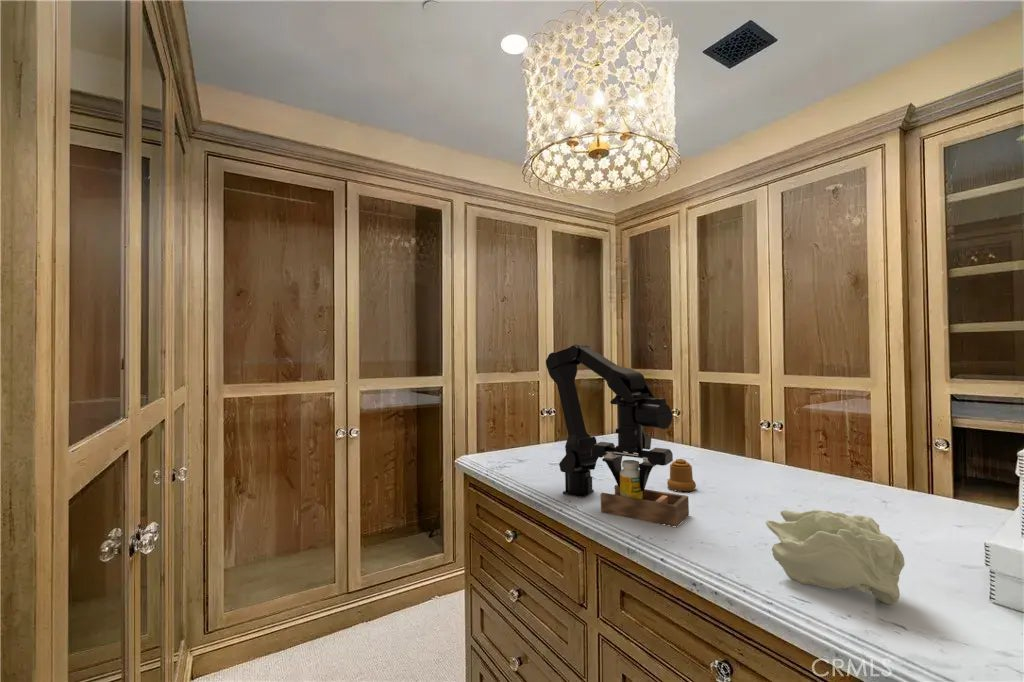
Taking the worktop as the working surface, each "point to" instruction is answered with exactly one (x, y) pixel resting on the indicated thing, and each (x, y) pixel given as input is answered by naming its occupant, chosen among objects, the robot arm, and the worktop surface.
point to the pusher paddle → (662, 499)
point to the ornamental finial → (681, 476)
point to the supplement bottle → (630, 480)
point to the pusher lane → (647, 507)
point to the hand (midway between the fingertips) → (631, 488)
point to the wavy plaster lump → (838, 552)
